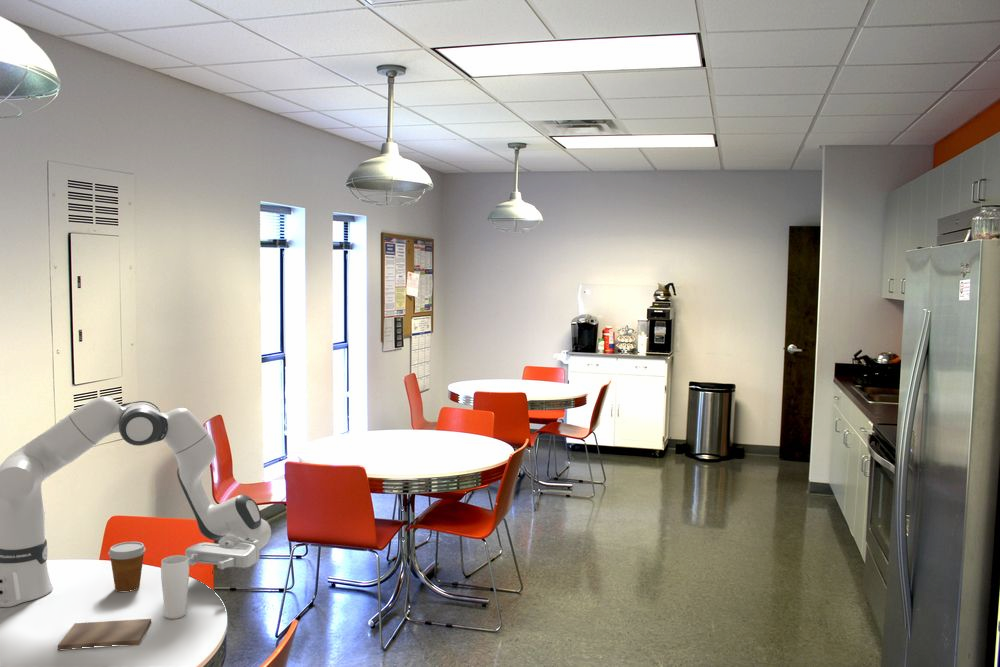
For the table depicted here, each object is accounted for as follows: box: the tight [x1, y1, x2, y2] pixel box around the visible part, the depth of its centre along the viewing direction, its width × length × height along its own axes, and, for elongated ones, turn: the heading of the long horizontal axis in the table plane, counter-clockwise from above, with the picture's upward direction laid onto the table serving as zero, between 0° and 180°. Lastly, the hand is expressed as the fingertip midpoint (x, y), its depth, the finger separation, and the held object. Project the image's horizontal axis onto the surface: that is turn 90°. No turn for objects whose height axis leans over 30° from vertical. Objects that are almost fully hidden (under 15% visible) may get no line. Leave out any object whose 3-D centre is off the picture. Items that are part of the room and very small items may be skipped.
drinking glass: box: [160, 554, 190, 620], centre depth 203 cm, size 7×7×15 cm
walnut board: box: [57, 618, 152, 651], centre depth 191 cm, size 18×12×1 cm, turn 101°
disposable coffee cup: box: [107, 541, 146, 592], centre depth 220 cm, size 10×10×12 cm
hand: (204, 564), depth 214 cm, fingers open, 8 cm apart
